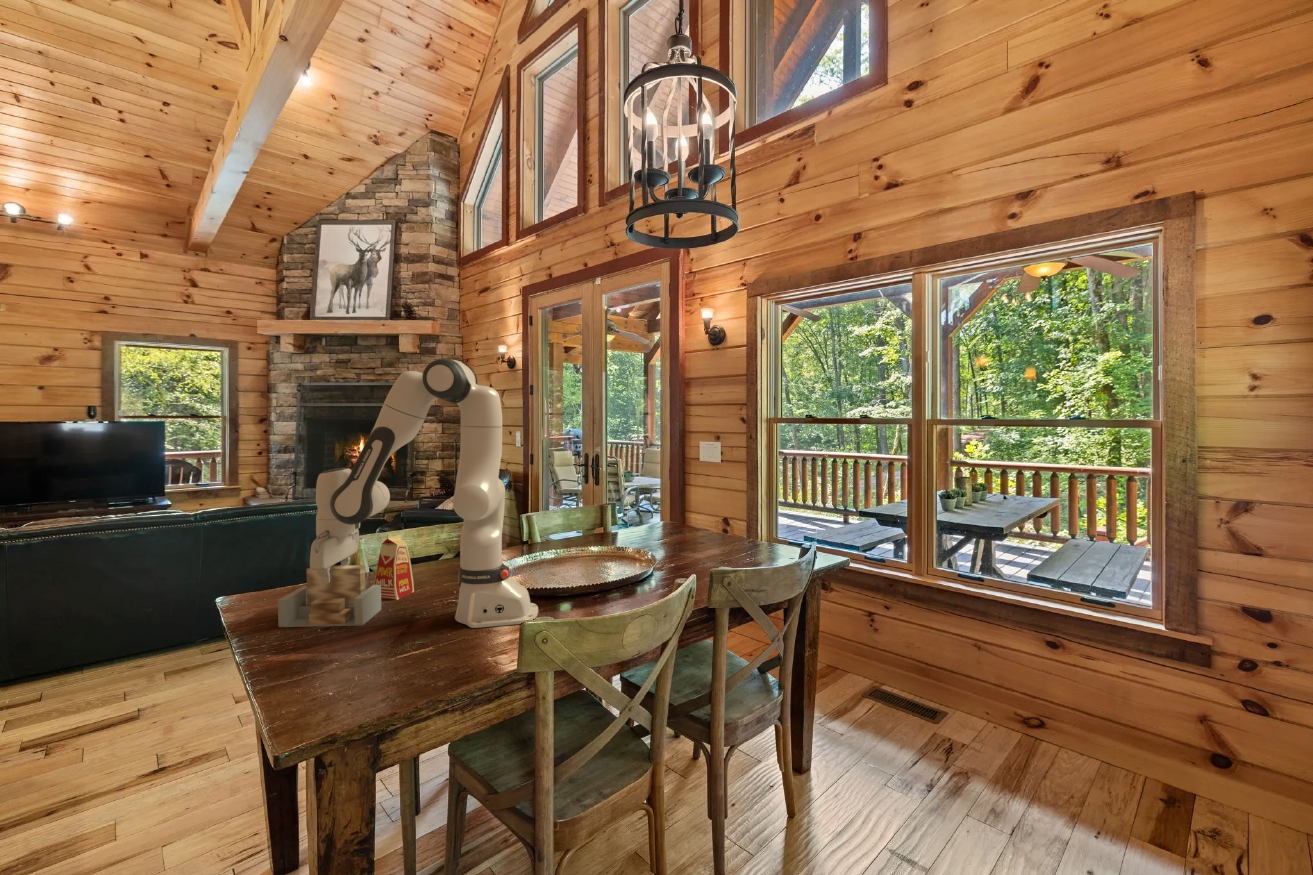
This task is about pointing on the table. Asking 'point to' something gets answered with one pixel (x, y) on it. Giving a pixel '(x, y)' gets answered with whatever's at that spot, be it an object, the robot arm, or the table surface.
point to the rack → (297, 615)
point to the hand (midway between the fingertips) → (335, 577)
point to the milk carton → (394, 569)
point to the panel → (336, 584)
